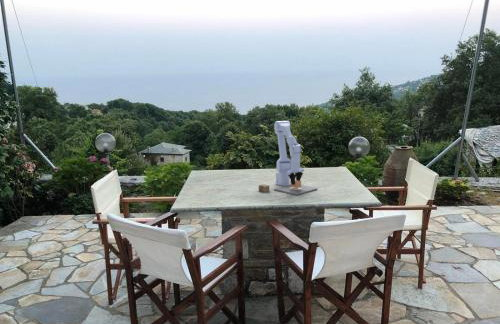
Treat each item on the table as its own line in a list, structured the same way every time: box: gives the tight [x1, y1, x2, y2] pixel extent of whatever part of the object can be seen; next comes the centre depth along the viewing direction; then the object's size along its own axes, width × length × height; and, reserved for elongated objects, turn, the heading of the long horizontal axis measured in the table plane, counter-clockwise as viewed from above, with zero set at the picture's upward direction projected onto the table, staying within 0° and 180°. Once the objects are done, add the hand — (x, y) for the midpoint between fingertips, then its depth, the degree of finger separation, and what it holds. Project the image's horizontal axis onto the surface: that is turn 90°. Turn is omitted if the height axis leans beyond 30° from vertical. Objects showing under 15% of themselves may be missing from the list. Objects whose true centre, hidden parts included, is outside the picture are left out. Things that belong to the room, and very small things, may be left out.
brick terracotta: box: [290, 179, 302, 188], centre depth 256 cm, size 6×4×4 cm, turn 41°
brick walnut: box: [258, 183, 270, 193], centre depth 256 cm, size 6×4×4 cm, turn 41°
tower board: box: [273, 184, 318, 196], centre depth 257 cm, size 20×20×1 cm
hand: (295, 183), depth 256 cm, fingers closed on brick terracotta, 4 cm apart
